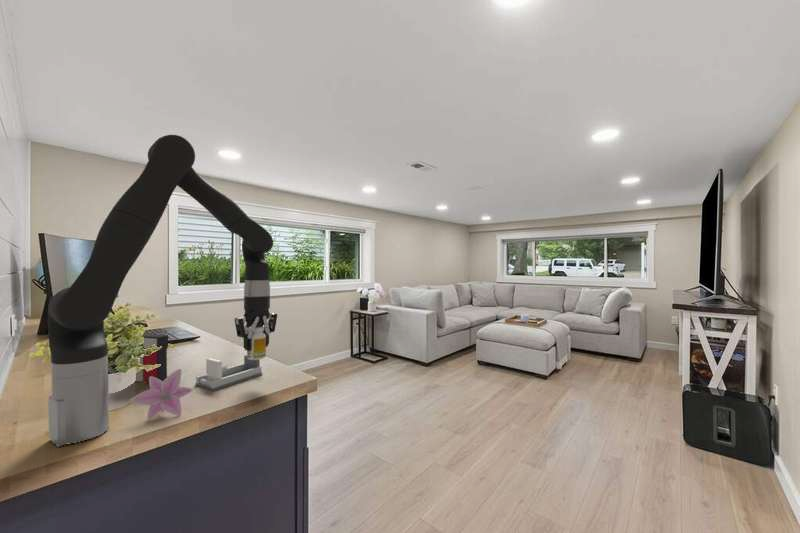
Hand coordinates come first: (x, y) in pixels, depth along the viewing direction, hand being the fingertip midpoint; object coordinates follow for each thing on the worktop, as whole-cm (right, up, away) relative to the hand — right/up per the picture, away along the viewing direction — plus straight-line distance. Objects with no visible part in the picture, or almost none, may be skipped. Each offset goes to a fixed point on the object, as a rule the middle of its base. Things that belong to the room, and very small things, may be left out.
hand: (256, 348), depth 106 cm
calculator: (-36, -12, +4) cm, 39 cm away
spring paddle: (-13, -11, +2) cm, 17 cm away
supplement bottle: (0, -3, 0) cm, 3 cm away
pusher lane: (-11, -12, +5) cm, 17 cm away
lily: (-16, -12, -19) cm, 28 cm away
